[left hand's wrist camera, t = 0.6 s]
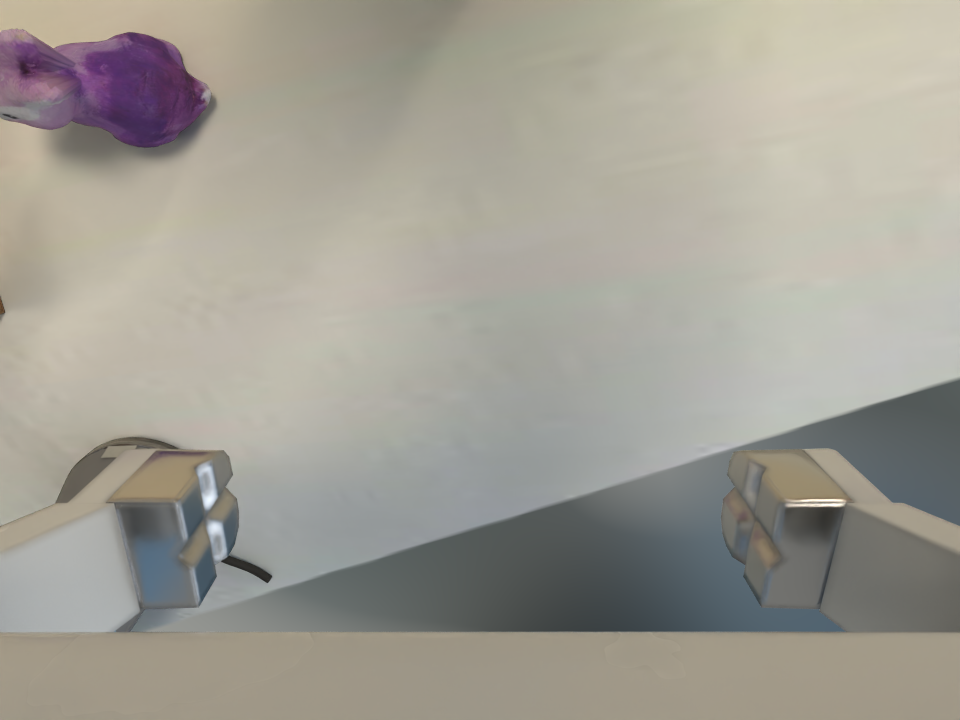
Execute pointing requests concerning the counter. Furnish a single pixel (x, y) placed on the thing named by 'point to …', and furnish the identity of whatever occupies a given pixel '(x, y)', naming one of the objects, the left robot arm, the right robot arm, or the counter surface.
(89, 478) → the right robot arm
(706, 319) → the counter surface
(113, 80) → the figurine
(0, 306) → the cabinet
